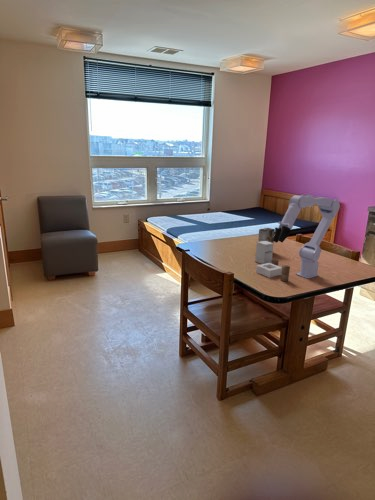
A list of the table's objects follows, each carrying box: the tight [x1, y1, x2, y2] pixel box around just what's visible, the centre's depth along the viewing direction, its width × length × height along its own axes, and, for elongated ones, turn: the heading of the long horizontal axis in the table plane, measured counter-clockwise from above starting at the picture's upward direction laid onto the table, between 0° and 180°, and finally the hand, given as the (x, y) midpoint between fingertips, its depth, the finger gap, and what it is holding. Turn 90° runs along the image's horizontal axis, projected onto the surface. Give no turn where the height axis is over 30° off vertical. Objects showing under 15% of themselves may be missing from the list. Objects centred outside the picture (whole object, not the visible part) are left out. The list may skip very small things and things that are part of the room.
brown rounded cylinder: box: [280, 264, 291, 283], centre depth 183 cm, size 4×4×8 cm
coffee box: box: [257, 227, 275, 243], centre depth 232 cm, size 9×6×16 cm
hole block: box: [255, 263, 282, 279], centre depth 193 cm, size 10×10×4 cm
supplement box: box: [254, 241, 275, 265], centre depth 211 cm, size 7×7×13 cm
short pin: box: [271, 259, 279, 266], centre depth 204 cm, size 4×4×4 cm
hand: (277, 241), depth 172 cm, fingers open, 7 cm apart
